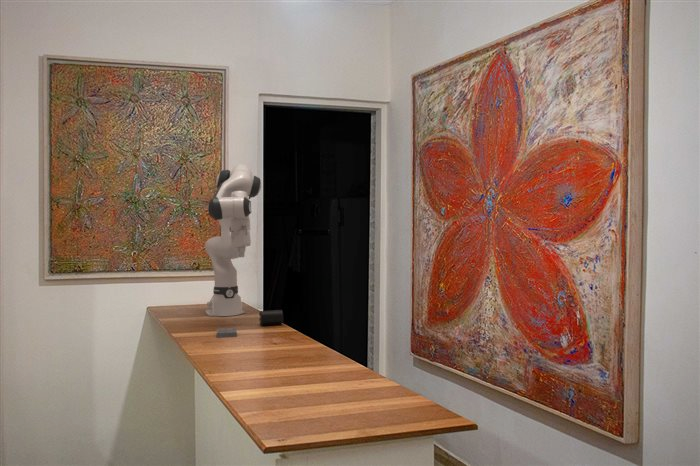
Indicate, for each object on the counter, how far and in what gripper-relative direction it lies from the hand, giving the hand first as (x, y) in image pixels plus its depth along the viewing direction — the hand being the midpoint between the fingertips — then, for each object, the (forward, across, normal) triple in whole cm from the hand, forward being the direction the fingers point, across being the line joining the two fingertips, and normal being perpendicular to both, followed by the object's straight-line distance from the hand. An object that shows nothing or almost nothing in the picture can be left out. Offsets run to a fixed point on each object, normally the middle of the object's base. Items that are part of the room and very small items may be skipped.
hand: (241, 257), depth 333 cm
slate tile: (+32, -14, +12) cm, 36 cm away
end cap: (+32, -4, -11) cm, 34 cm away
